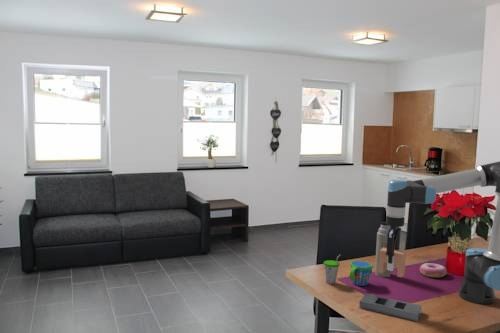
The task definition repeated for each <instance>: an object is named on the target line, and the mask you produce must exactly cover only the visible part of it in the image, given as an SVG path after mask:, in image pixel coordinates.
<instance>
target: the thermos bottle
mask: <svg viewBox="0 0 500 333" xmlns="http://www.w3.org/2000/svg"><path fill="white" fill-rule="evenodd" d="M389 229H390V225H387V224H386V221H381V222H380V227H379V228H378V231H377V232H376V248H375V262H374V264H375V265H374V266H375V267H374V274H375V275H376V276H378V277H382V278H383V277H384V278H387V277H389V278H390V277H391V274H392V271H390V270H387V263H386V271H385V272H384V273H378V269H379V254H380V250H381V249H382V248H387V238H388V237H387V233H389Z"/></svg>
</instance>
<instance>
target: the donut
mask: <svg viewBox="0 0 500 333" xmlns="http://www.w3.org/2000/svg"><path fill="white" fill-rule="evenodd" d="M447 271H448V270H447V268H446V267H445V266H444V265H441V264H439V263H432V262H429V263H428V262H425V263H422V264H421V265H420V266H419V272H420V273H421V274H422V275H423V276H425V277H429V278H434V279H435V278H443V277H445V276H447Z"/></svg>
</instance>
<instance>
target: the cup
mask: <svg viewBox="0 0 500 333" xmlns="http://www.w3.org/2000/svg"><path fill="white" fill-rule="evenodd" d="M340 256H342V255H341V254H339V255H338V256H337V257H336V260H332V259H331V260H330V259H327V260H324V261H323V266H324V273H325V274H324V275H325V283H326V284H327V285H335V284H336V282H337V277H338V276H337V275H338V271H339V266H341V265H340V262H339V258H340Z"/></svg>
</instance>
